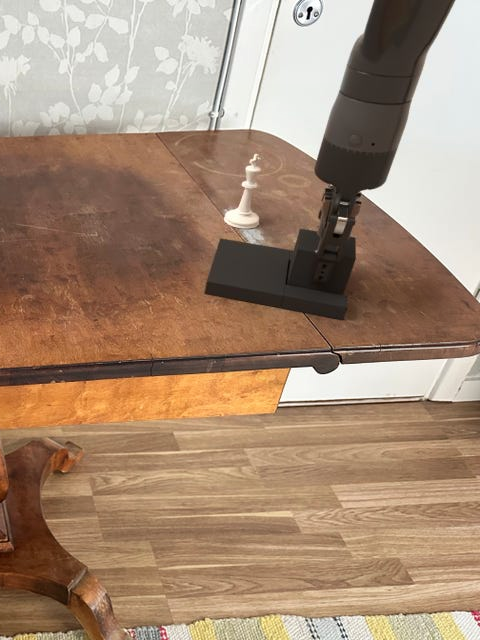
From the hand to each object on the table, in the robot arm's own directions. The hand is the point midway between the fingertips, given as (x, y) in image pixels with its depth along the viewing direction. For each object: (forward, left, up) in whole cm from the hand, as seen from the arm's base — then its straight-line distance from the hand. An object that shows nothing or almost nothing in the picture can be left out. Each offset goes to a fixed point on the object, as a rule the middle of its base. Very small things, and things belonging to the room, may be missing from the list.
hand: (318, 271), depth 86 cm
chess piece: (+10, -16, -3) cm, 19 cm away
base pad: (+4, 0, -2) cm, 5 cm away
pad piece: (0, 0, -2) cm, 2 cm away
